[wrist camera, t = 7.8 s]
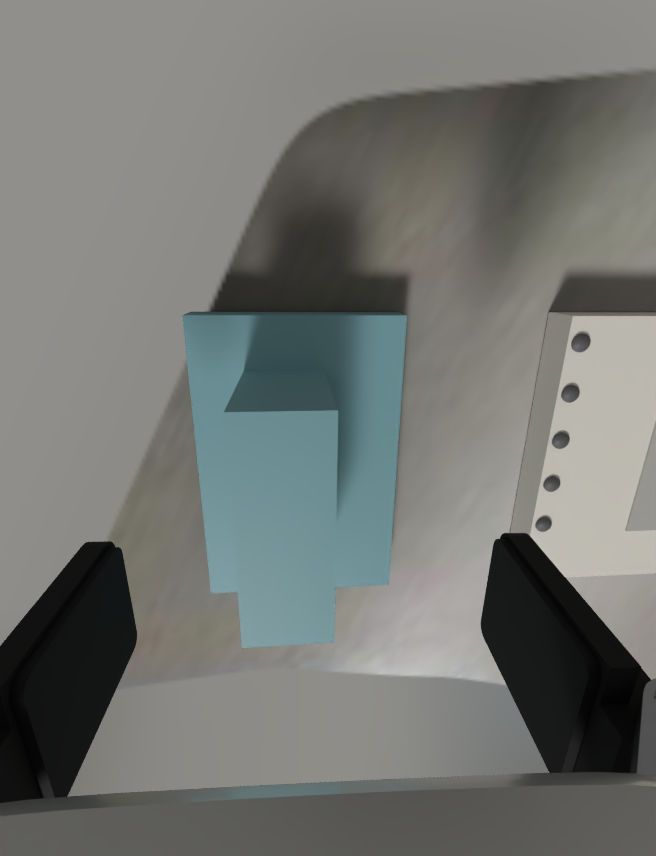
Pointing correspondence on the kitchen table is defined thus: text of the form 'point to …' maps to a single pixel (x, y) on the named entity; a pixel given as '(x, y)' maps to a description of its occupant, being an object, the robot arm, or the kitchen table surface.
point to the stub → (295, 460)
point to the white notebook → (593, 446)
